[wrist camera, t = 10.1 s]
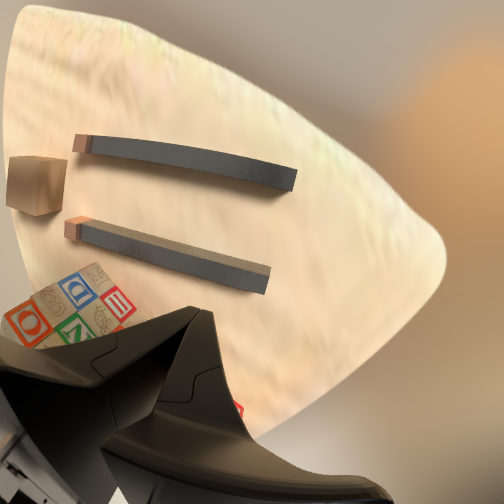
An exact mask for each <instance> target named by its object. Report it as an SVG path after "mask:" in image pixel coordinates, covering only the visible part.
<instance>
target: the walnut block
mask: <svg viewBox="0 0 504 504" xmlns="http://www.w3.org/2000/svg"><path fill="white" fill-rule="evenodd" d="M67 161H68V160H64V159H56V158H48V157H40V156H20V157H10V160H9V168H8V178H7V194H6V206H9V207H11V208H14V209H16V210H19V211H22V212H25V213H27V214H30V215H33V216H39V215H43V214H47V213H51V212H55V211H59V210H62V203H63V192H64V183H65V175H66V167H67Z"/></svg>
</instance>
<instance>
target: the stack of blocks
mask: <svg viewBox="0 0 504 504" xmlns="http://www.w3.org/2000/svg"><path fill="white" fill-rule="evenodd" d="M145 321H147V320H146V319H145V318H144V317H143V316H142V315H141V314H140V313H139V312H138V311H137V309H136V308H135V307H134V305H133V304H132V303H131V302H130V301H129V300H128V299H127V298H126V296H125V295H124V294H123V293H122V292H121V291H120V289H119V288H118V287H117V286H116V285H115V283H114V282H113V281H112V280H111V279H110V277H109V276H108V275H107V274H106V272H105V271H104V270H103V269H102V267H101V266H100V265H99V264H98V263H97V262H95V263H93V264H91V265H89V266H87V267H85V268H83V269H81V270H80V271H78V272H77V273H74V274H72V275H70V276H68V277H67V278H65V279H63V280H61V281H59V282H57V283H54V284H52V285H50V286H48V287H46V288H45V289H42V290H41V291H39V292H37V293H35V294H34V295H32V296H31V297H30V299H29V300H27V301H25V302H24V303H22V304H20V305H19V306H17V307H15V308H13V309H12V310H10V311H8V312H7V313H5V314H4V315H3V319H2V323H1V328H0V335H2V336H4V337H6V338H8V339H10V340H12V341H14V342H16V343H18V344H20V345H23V346H25V347H28V348H33V349H45V348H51V347H56V346H61V345H66V344H71V343H75V342H80V341H84V340H88V339H92V338H96V337H99V336H103V335H106V334H109V333H112V332H117V331H118V330H121V329H124V328H127V327H130V326H133V325H136V324H139V323H142V322H145ZM234 402H235V401H234ZM235 405H236V407H237V409H238V411H239V413H240V416H241V418H242V417H243V411H244V408H243V407H242V406H241V405H239V404H238V403H237V402H235Z"/></svg>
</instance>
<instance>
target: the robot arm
mask: <svg viewBox="0 0 504 504" xmlns="http://www.w3.org/2000/svg"><path fill="white" fill-rule="evenodd" d="M117 487H119V489H120V490H121V492H122V494H123V495H124V497H125V499H126V500H127V502H128V504H394V502H393V499H392V498H391V496H390V495H389V494H388V493H387V491H386V490H384V489H383V488H382V487H381V486H379V485H378V484H376V483H374V482H372V481H371V480H369V479H367V478H365V477H361V476H354V475H322V474H317V473H312V472H308V471H305V470H302V469H300V468H298V467H296V466H294V465H292V464H290V463H289V462H287V461H285V460H283V459H282V458H280V457H278V456H277V455H275V454H273V453H272V452H270V451H268V450H266V449H265V448H264V447H262V446H260V445H259V444H257V443H256V442H255V441H254V440H253V438H252V437H251V435H250V434H249V432H248V430H247V428H246V426H245V424H244V422H243V420H242V418H241V416H240V413H239V411H238V409H237V407H236V405H235V402H234V400H233V398H232V395H231V393H230V390H229V387H228V384H227V380H226V377H225V372H224V368H223V363H222V358H221V353H220V348H219V342H218V337H217V332H216V326H215V321H214V315H213V312H211V311H207V310H204V309H202V310H200V309H199V308H196V307H193V306H187V307H185V308H182V309H179V310H176V311H173V312H171V313H168V314H165V315H162V316H159V317H156V318H153V319H151V320H148V321H145V322H142V323H139V324H136V325H133V326H130V327H127V328H124V329H121V330H118V331H117V332H112V333H109V334H106V335H103V336H99V337H96V338H92V339H88V340H84V341H80V342H75V343H71V344H66V345H61V346H56V347H51V348H45V349H33V348H28V347H25V346H23V345H20V344H18V343H16V342H14V341H12V340H10V339H8V338H6V337H4V336H2V335H0V504H108V503H109V501H110V500H111V498H112V496H113V494H114V492H115V491H116V489H117Z"/></svg>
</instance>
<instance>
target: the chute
mask: <svg viewBox="0 0 504 504" xmlns="http://www.w3.org/2000/svg"><path fill="white" fill-rule="evenodd" d="M72 152H80V153H92V154H101V155H109V156H116V157H123V158H130V159H137V160H144V161H150V162H156V163H162V164H168V165H174V166H179V167H184V168H190V169H195V170H200V171H205V172H210V173H215V174H219V175H224V176H229V177H233V178H238V179H242V180H246V181H251V182H255V183H259V184H263V185H267V186H271V187H275V188H279V189H283V190H287V191H291V192H292V190H293V186H294V182H295V178H296V174H297V170H296V169H293V168H289V167H285V166H281V165H277V164H273V163H269V162H265V161H260V160H256V159H251V158H247V157H242V156H238V155H233V154H228V153H223V152H218V151H212V150H207V149H201V148H195V147H189V146H183V145H177V144H170V143H163V142H155V141H147V140H139V139H130V138H120V137H108V136H95V135H82V134H75V139H74V145H73V150H72ZM64 237H65V238H68V239H71V240H74V241H77V240H81V241H84V242H87V243H90V244H93V245H96V246H99V247H102V248H105V249H108V250H111V251H114V252H117V253H120V254H124V255H127V256H130V257H133V258H136V259H139V260H143V261H146V262H149V263H152V264H156V265H159V266H162V267H166V268H169V269H172V270H176V271H179V272H182V273H186V274H189V275H193V276H196V277H200V278H203V279H207V280H210V281H214V282H218V283H221V284H225V285H229V286H232V287H236V288H240V289H243V290H247V291H251V292H255V293H259V294H262V295H264V294H265V291H266V287H267V284H268V280H269V276H270V270H271V267H269V266H265V265H261V264H257V263H254V262H250V261H246V260H242V259H238V258H234V257H231V256H227V255H223V254H219V253H216V252H212V251H208V250H204V249H201V248H197V247H193V246H189V245H186V244H182V243H178V242H174V241H171V240H167V239H163V238H160V237H156V236H152V235H149V234H145V233H141V232H138V231H134V230H130V229H127V228H123V227H120V226H116V225H112V224H109V223H105V222H102V221H98V220H94V219H91V218H87V217H84V216H80V217H76V218H73V219H69V220H66V221H65V229H64Z"/></svg>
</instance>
